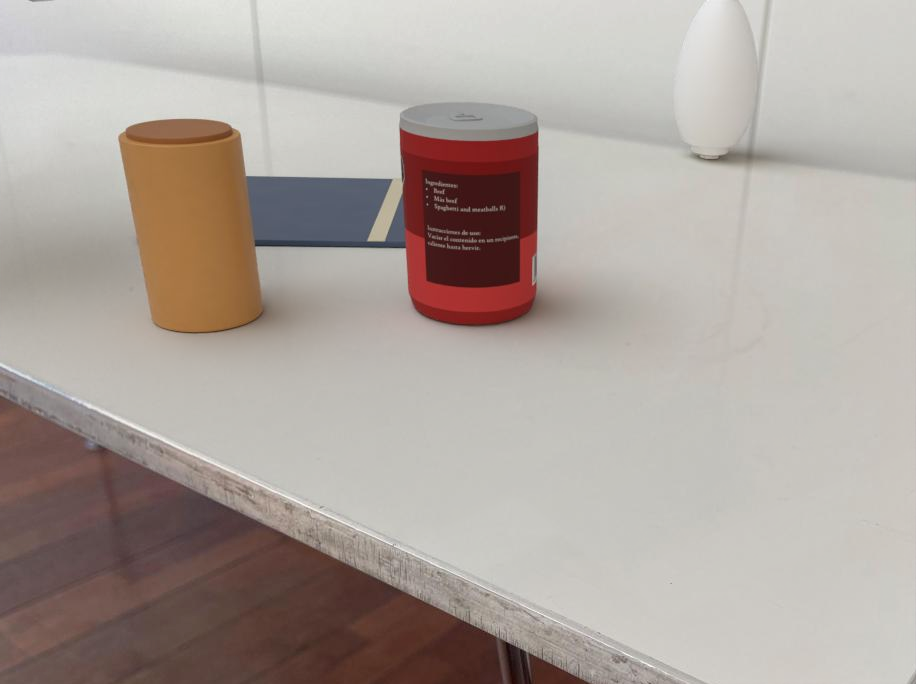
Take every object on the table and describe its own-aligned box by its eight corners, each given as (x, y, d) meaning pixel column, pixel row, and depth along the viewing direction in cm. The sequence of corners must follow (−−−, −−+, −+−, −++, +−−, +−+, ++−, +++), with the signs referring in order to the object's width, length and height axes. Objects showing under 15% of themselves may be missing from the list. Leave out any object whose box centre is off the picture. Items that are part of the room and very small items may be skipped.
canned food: (483, 273, 65) (480, 97, 60) (564, 308, 60) (568, 119, 55) (382, 297, 60) (369, 108, 55) (460, 337, 55) (454, 133, 50)
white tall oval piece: (765, 161, 98) (788, -42, 90) (706, 169, 94) (725, -43, 86) (711, 145, 104) (728, -47, 95) (653, 153, 100) (666, -48, 91)
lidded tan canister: (136, 332, 54) (99, 138, 49) (169, 294, 59) (138, 115, 55) (250, 333, 55) (224, 141, 50) (272, 295, 60) (250, 118, 55)
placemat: (137, 243, 68) (136, 237, 68) (207, 179, 84) (206, 174, 83) (405, 247, 69) (405, 241, 69) (424, 184, 85) (424, 178, 85)
